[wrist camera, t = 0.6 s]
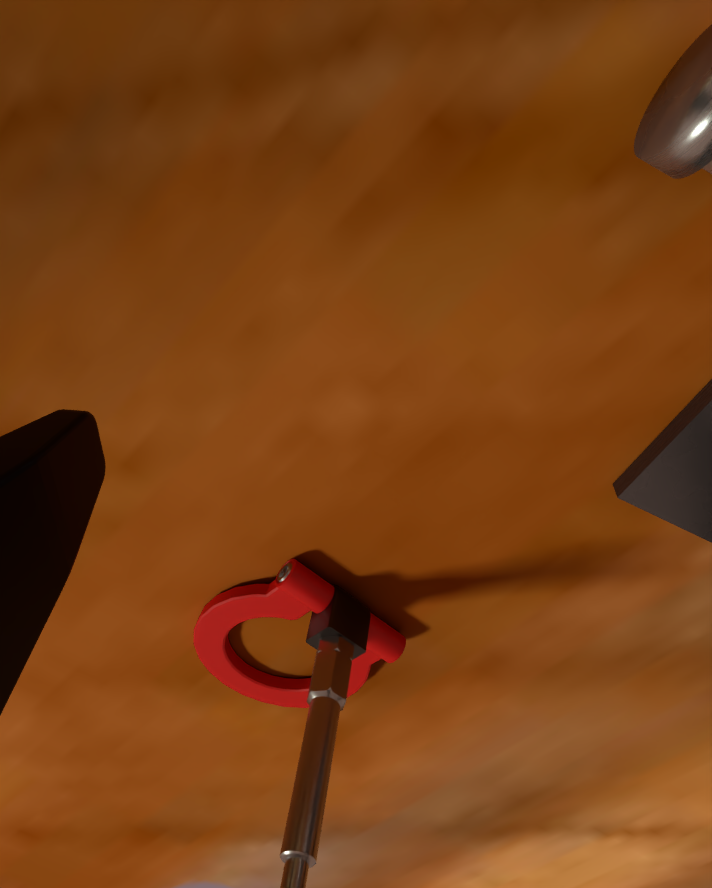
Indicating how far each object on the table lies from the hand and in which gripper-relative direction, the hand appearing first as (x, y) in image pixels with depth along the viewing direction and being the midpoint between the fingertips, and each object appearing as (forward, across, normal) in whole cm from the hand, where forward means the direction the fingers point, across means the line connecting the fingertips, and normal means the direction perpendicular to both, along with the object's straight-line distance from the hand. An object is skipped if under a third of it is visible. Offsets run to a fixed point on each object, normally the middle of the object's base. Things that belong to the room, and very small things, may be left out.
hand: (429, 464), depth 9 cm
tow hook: (+14, +4, +21) cm, 25 cm away
